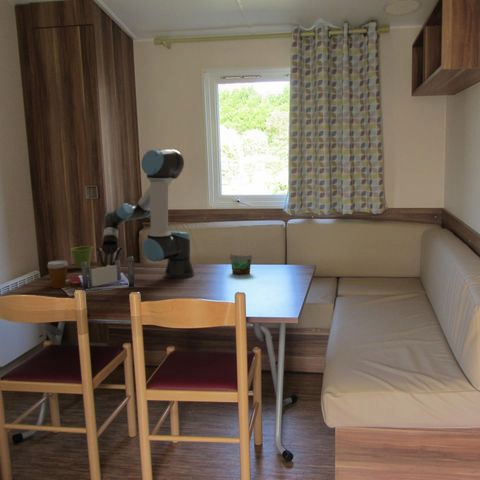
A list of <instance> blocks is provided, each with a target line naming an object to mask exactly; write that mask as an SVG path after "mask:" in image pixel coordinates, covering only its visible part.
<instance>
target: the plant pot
mask: <svg viewBox="0 0 480 480" xmlns="http://www.w3.org/2000/svg"><path fill="white" fill-rule="evenodd" d="M92 249H93V246H90V245H89V246H87V245H86V246H85V245H84V246H77V247H72V248H70V249H69V250H70V251H71V253H72V256H73V259H74V263H75V267H76V269H78V270H79V269H80V270H82V264H81V262H87V269H88V268H91V267H90V266H91V256H92V251H93V250H92Z"/></svg>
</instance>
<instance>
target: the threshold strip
mask: <svg viewBox="0 0 480 480" xmlns="http://www.w3.org/2000/svg"><path fill="white" fill-rule="evenodd" d="M93 287H94V288H92V287H90V290H91V289H95V290H112V289H128V285H120V286H119V285H118V286H117V285H116V286H93Z"/></svg>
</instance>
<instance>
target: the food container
mask: <svg viewBox="0 0 480 480" xmlns="http://www.w3.org/2000/svg"><path fill="white" fill-rule="evenodd" d="M229 259H230V263H231V272H232V274H233V275H235V276H236V275H237V276H245V275H250V273H251V262H252V259H253V256H252V255H251V254H249V255H242V254H239V255H232V253H230V254H229Z"/></svg>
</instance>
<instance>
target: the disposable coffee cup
mask: <svg viewBox="0 0 480 480" xmlns="http://www.w3.org/2000/svg"><path fill="white" fill-rule="evenodd" d="M68 265H69V263H68V261H67V260H52V261H49V262H47V265H46V266H47V269H48V272H49V277H50V282H51V287H52V288H53V289H61V288H65V287H67V276H68V275H67V274H68V273H67V272H68Z"/></svg>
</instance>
